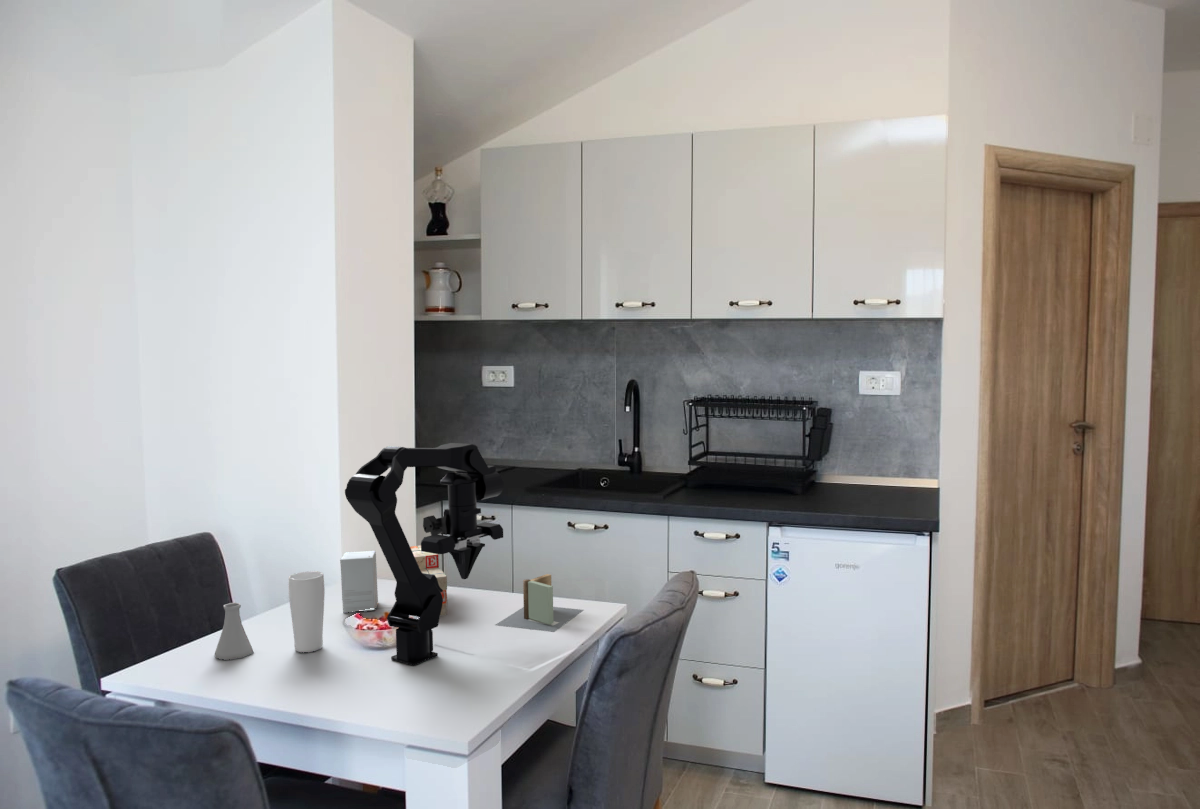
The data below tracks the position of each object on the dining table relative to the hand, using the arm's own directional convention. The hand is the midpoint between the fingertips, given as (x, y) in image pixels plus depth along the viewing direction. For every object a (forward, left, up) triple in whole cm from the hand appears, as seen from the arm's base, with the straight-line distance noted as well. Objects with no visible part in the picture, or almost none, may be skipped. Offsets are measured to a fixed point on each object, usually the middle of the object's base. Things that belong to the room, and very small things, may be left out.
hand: (464, 578), depth 175 cm
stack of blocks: (+10, +23, -12) cm, 29 cm away
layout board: (+17, -6, -12) cm, 22 cm away
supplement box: (+1, +35, -12) cm, 37 cm away
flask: (-33, +31, -12) cm, 47 cm away
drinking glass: (-23, +21, -12) cm, 33 cm away
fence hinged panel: (+14, -8, -11) cm, 20 cm away
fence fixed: (+18, -4, -12) cm, 22 cm away
